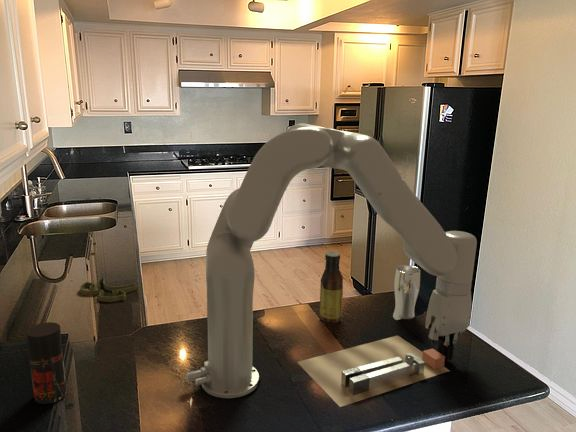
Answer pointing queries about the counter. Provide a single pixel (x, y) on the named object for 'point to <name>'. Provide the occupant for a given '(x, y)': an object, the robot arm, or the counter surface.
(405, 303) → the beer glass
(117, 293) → the cookie cutter
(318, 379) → the board
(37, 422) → the counter surface
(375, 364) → the tong jaw
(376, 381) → the base
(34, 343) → the deodorant
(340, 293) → the sauce bottle
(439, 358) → the tab
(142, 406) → the counter surface
